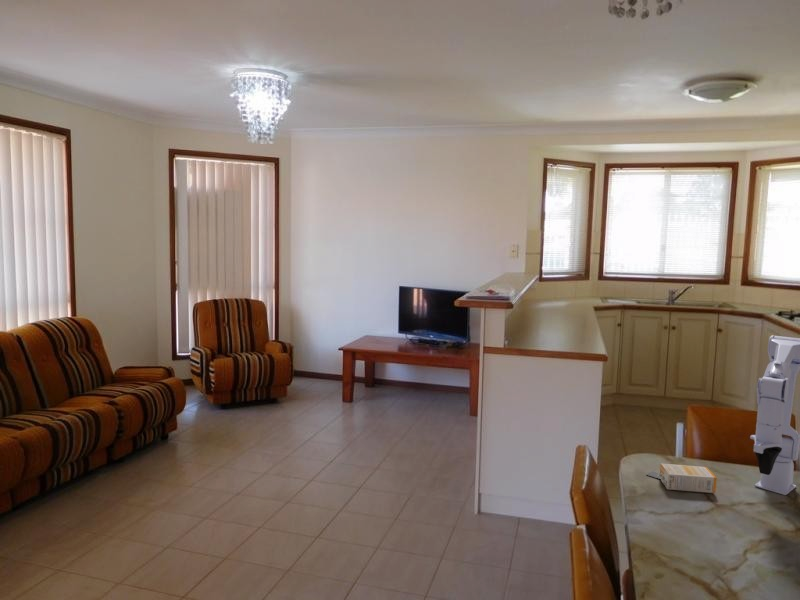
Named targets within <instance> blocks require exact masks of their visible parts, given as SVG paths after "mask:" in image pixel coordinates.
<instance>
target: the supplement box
mask: <svg viewBox="0 0 800 600" xmlns="http://www.w3.org/2000/svg"><path fill="white" fill-rule="evenodd" d="M659 465H660V466H659V468H660V473H659V478H660V479H661V480H660V481H661V483H662V484H663V486H665V488H666V490H670V491H671V490H673V491H683V492H684V491H685V492H694V493H695V492H697V493H709V494H716V492H717V482H718V481H717V480H718V479H717V476H715V474H714V473H713V472H712V471H711V470H710V469H709V468H708V467H707V466H701V465H700V466H696V465H684V464H674V463H673V464H671V463H660V464H659Z"/></svg>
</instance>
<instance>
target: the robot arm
mask: <svg viewBox="0 0 800 600" xmlns="http://www.w3.org/2000/svg"><path fill="white" fill-rule="evenodd" d="M767 354H768V360H769V363H768V364H767V366H766V368H765V371H764V374H763V376H762V377H759V378H758V381H757V382H756V383H757V384H756V405H758V406H757V412H756V413H757V415H756V425H755V434H751V435H750V437H749V438H750V439H751V440H753V441H754V444H753V446H752V450H753V453H754V454H755V456H756V459H757V464H758V470H759V474H760V480H759V481H758V482H756V483H755V484H754V486H755V488H760V489H764V490H766V491H769V492H774V493H777V494H780V495H783V496H786V495H788V494H789V493H791V492H792V491H793V490H794V489H795V488H796V487H797V485H796V484H793V483H794V482H793V479H794V471H795V469H794V468H795V466H794V465H795V464H794V462H795V461H797V460H798V459H799V456H800V455H799V454H800V433H799V432H798V431H797V430H796V429H795V428H793V426H791V419H792V411H793V404H794V397H795V389H796V382H797V376H798V374H799V372H800V337H799V338H798V337H793V336H791V337H789V336H780V335H775V334H772V335H770V336H769V338H768V343H767Z"/></svg>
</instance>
